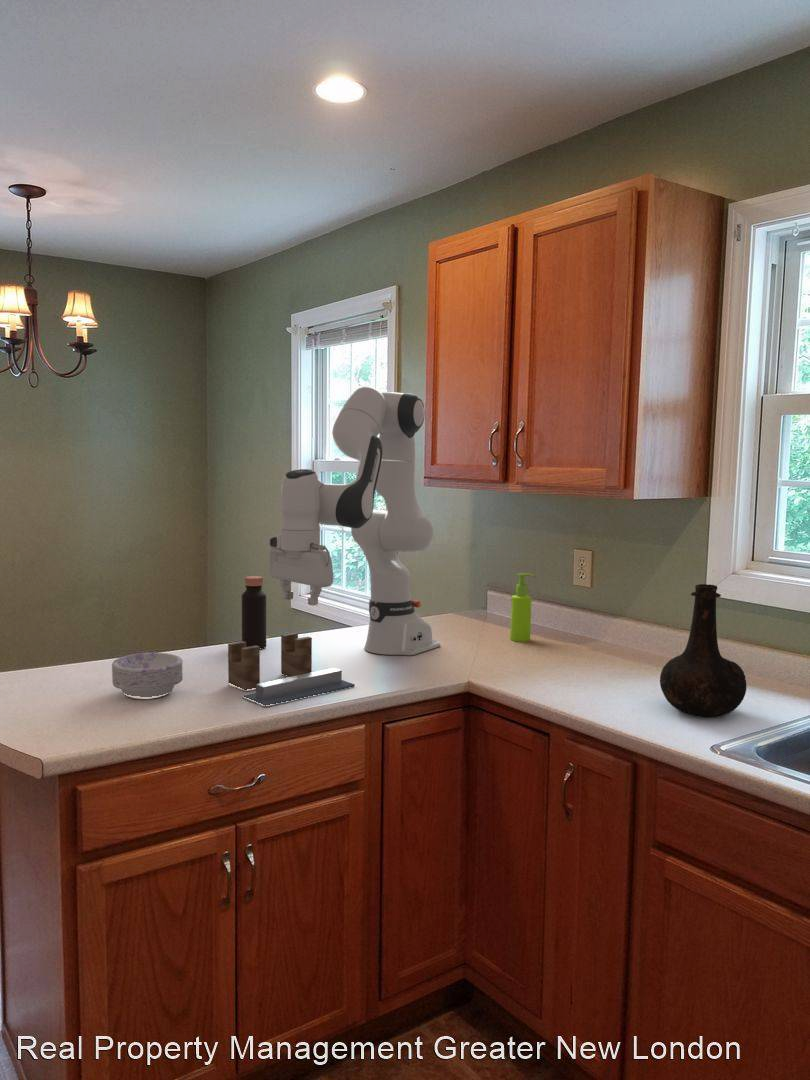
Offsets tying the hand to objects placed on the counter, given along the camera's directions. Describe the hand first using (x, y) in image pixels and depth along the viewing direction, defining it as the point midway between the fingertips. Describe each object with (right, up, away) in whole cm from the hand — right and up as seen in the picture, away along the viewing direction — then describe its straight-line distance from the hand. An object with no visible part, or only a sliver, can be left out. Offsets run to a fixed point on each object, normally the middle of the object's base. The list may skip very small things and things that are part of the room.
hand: (300, 601), depth 190 cm
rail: (0, -20, +2) cm, 20 cm away
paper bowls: (-34, -21, -1) cm, 40 cm away
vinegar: (-19, -16, +45) cm, 51 cm away
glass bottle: (+89, -24, -8) cm, 92 cm away
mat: (0, -21, +2) cm, 21 cm away
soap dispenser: (+59, -16, +60) cm, 86 cm away
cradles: (-8, -20, +11) cm, 24 cm away
